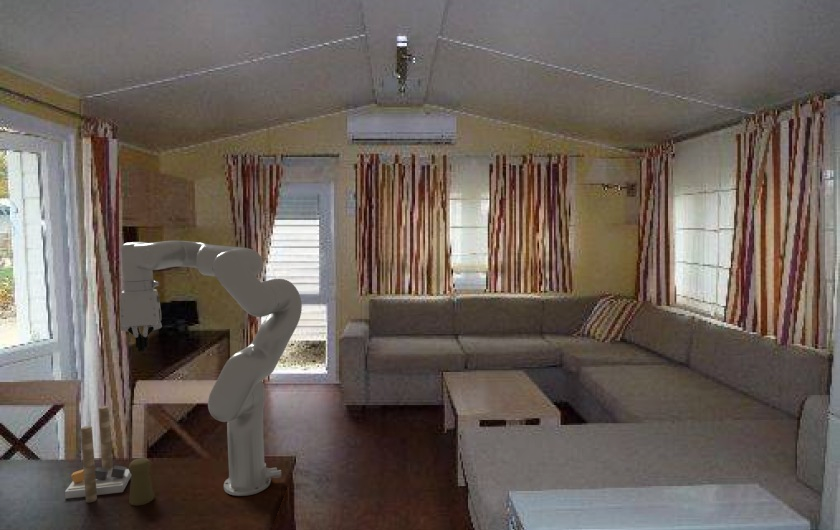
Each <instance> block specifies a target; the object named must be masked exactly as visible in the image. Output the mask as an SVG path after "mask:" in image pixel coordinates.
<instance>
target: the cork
mask: <svg viewBox="0 0 840 530" xmlns="http://www.w3.org/2000/svg"><path fill="white" fill-rule="evenodd" d="M128 469H129V471H130V473H131V474H132V475H131V478H130V487H129V497H128V498H129V499H128V500H129V501H128V502H129V505H131V506H142V505H146V504H148V503H150V501H151V502H152V501H153V500H154V499H155V494H154V489H153V485H152V480H151V479H152V478H151V475H150V469H151V461H150V460H149V459H148V458H146V457H139V458H136V459H133V460H132V461H131V462H130V463H129V465H128Z"/></svg>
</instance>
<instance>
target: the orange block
mask: <svg viewBox="0 0 840 530" xmlns="http://www.w3.org/2000/svg"><path fill="white" fill-rule="evenodd" d="M70 477H71V479H72V481H73V482H74V483H77V482H80V481H83V480H84V469H80V470H77V471H74V472H73V473H72V474H71V476H70Z"/></svg>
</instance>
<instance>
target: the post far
mask: <svg viewBox="0 0 840 530" xmlns="http://www.w3.org/2000/svg"><path fill="white" fill-rule="evenodd" d="M109 407H110V406H107V405H105V406H104V405H103V406H100V407H98V422H99V437H100V438H99V439H100V453H101V466H102V467H101V468H107V469H109V470H108V471H112V470H113V468H114V466H113V454H112V453H113V451H112V438H111V424H110V423H111V422H110V408H109Z"/></svg>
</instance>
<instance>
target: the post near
mask: <svg viewBox="0 0 840 530" xmlns="http://www.w3.org/2000/svg"><path fill="white" fill-rule="evenodd" d="M80 438H81V439H80V441H81V453H82V466H83V467H82V468H83V469H84V483H85V496H84V497H85V502H86V503H88V504H89V503H93V502H96V501H97V500H98V495H97V490H96V476H95V470H96V465H95V451H94V438H93V427H92V425H86V426H83V427H81V428H80Z"/></svg>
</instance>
